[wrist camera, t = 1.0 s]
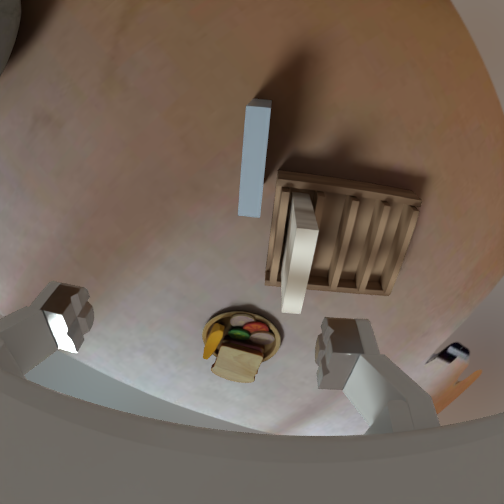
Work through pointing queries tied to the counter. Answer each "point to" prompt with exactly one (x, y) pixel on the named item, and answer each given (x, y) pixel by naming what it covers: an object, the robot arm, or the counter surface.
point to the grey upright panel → (254, 157)
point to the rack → (337, 236)
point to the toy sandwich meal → (239, 344)
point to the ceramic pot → (8, 28)
